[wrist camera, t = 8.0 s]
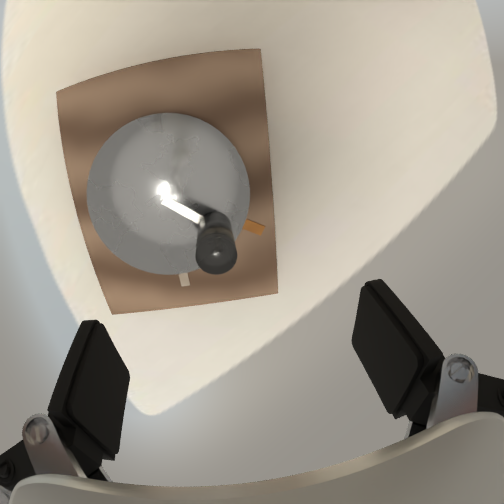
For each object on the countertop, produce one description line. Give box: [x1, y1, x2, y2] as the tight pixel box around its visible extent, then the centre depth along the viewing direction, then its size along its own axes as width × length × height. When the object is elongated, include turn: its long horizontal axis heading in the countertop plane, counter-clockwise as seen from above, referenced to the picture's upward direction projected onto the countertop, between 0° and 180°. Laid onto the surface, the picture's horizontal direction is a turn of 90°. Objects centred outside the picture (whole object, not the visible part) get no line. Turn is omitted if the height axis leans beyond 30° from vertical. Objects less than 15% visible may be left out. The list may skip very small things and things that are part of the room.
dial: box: [87, 113, 250, 275], centre depth 19 cm, size 13×13×6 cm
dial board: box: [56, 49, 278, 315], centre depth 22 cm, size 22×17×2 cm
